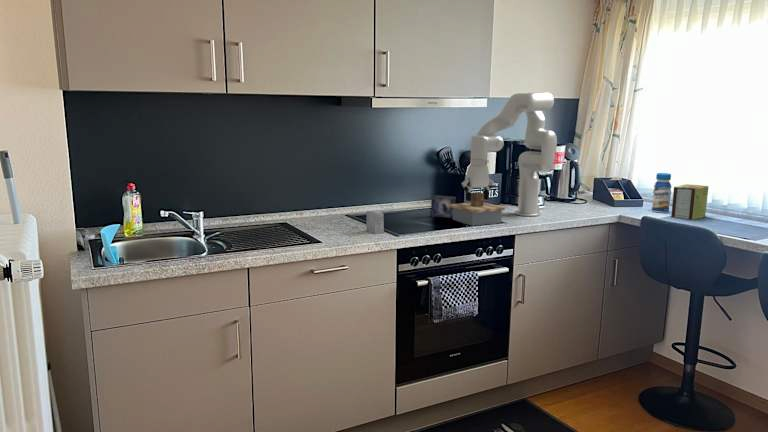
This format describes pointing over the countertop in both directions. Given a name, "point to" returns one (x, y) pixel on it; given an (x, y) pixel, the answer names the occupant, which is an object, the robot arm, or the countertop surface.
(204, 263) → the countertop surface
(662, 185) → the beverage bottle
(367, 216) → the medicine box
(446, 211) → the small box
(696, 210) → the protein box
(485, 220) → the slate bin
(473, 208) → the oak lid
